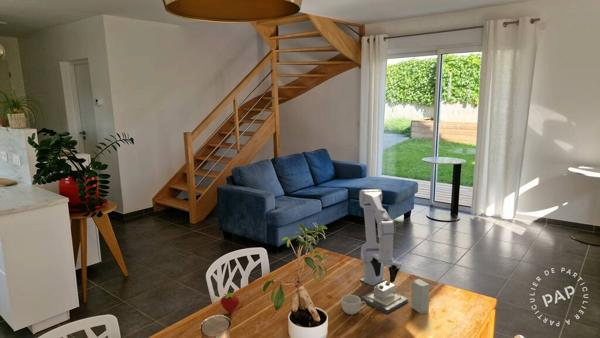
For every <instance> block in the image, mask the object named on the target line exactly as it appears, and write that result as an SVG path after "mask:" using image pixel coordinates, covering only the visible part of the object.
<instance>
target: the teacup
mask: <svg viewBox="0 0 600 338" xmlns="http://www.w3.org/2000/svg"><path fill="white" fill-rule="evenodd" d="M363 303H364V305H363V306H361V305H362V304H363ZM366 307H367V303H366V302H364V301H361V297H359V296H358V295H354V294H345V295H343V296H342V297H341V309H342V310H343V312H345V314H348V315H356V314H357V313H358V312H359V311H360V310H361V309H363V308H366Z"/></svg>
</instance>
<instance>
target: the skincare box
mask: <svg viewBox="0 0 600 338" xmlns="http://www.w3.org/2000/svg"><path fill="white" fill-rule="evenodd" d="M411 309H413V310H414V311H416V312H417V313H419V314H420V315H423V314H427V313H429V312H430V284H429V283H427V282H425V281H424V280H422V279H420V278H418V279H414V280H412V281H411Z"/></svg>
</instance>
